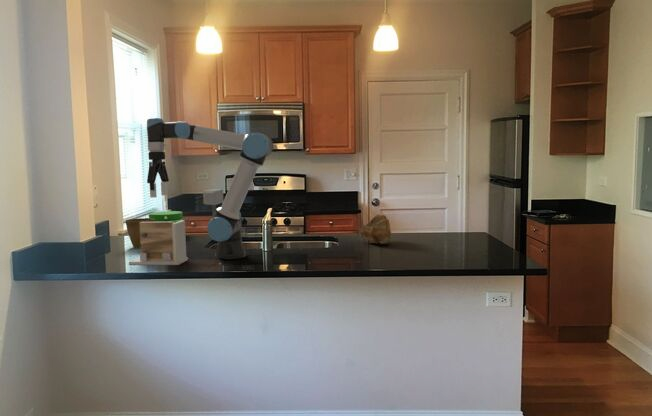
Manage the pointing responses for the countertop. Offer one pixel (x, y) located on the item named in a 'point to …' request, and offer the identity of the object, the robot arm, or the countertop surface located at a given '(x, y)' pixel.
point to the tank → (166, 216)
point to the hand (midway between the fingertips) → (159, 196)
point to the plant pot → (136, 230)
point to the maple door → (156, 239)
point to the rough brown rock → (377, 230)
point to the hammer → (213, 198)
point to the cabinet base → (176, 247)
